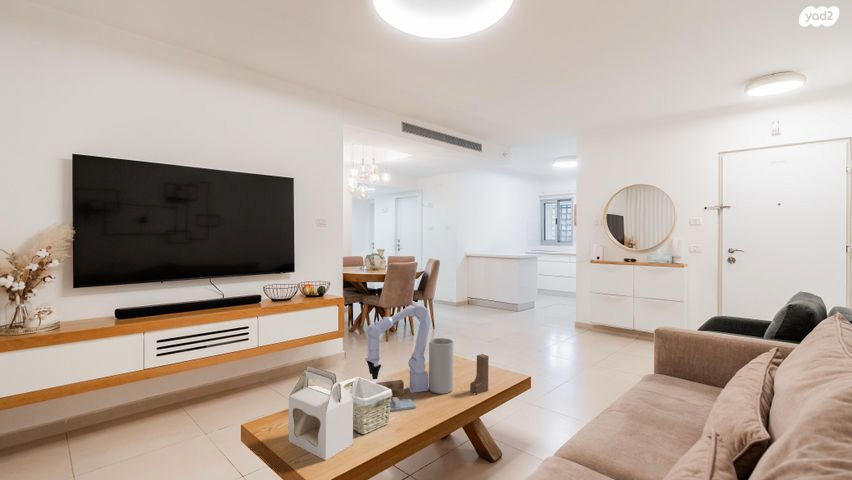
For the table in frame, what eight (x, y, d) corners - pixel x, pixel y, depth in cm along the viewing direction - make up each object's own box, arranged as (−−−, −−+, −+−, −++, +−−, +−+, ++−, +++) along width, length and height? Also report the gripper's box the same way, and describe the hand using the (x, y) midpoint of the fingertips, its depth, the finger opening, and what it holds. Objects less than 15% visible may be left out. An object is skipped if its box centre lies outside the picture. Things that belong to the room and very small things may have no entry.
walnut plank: (401, 391, 199) (401, 379, 199) (403, 394, 195) (403, 382, 195) (374, 394, 194) (374, 382, 194) (376, 398, 190) (376, 385, 190)
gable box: (287, 441, 149) (288, 368, 149) (315, 427, 160) (316, 359, 160) (325, 461, 136) (326, 381, 136) (353, 445, 147) (354, 371, 147)
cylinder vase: (453, 394, 195) (453, 344, 195) (428, 394, 195) (429, 344, 195) (452, 385, 207) (452, 338, 207) (429, 384, 208) (429, 338, 208)
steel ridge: (397, 401, 184) (397, 396, 184) (400, 407, 178) (400, 402, 178) (392, 401, 183) (392, 397, 183) (395, 407, 177) (395, 403, 177)
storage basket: (328, 418, 168) (328, 384, 168) (358, 406, 180) (358, 375, 180) (362, 438, 152) (362, 400, 152) (393, 424, 164) (393, 389, 164)
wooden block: (476, 394, 195) (476, 358, 195) (469, 391, 198) (470, 356, 198) (488, 390, 200) (488, 355, 200) (482, 387, 204) (482, 353, 204)
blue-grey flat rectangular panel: (410, 400, 187) (410, 398, 187) (415, 408, 179) (415, 406, 179) (377, 404, 182) (377, 402, 182) (381, 413, 174) (381, 410, 174)
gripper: (363, 345, 199) (363, 372, 199) (367, 353, 185) (368, 382, 185) (376, 344, 201) (376, 370, 201) (382, 352, 187) (382, 380, 187)
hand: (373, 376), depth 193 cm, fingers open, 7 cm apart
